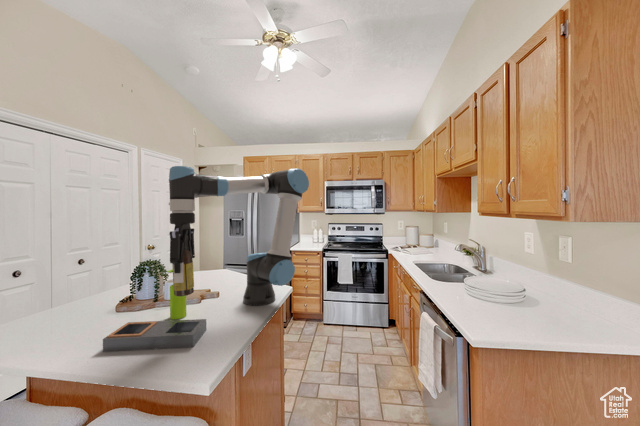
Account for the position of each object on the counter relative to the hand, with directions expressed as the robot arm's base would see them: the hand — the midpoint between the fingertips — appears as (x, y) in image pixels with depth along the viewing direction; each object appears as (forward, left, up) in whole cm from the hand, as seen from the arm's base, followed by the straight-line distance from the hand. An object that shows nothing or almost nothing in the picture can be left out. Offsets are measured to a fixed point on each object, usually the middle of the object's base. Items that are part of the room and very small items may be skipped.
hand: (183, 279), depth 87 cm
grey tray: (+8, 0, -20) cm, 22 cm away
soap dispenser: (+11, -19, -21) cm, 30 cm away
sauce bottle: (0, 0, -5) cm, 5 cm away
